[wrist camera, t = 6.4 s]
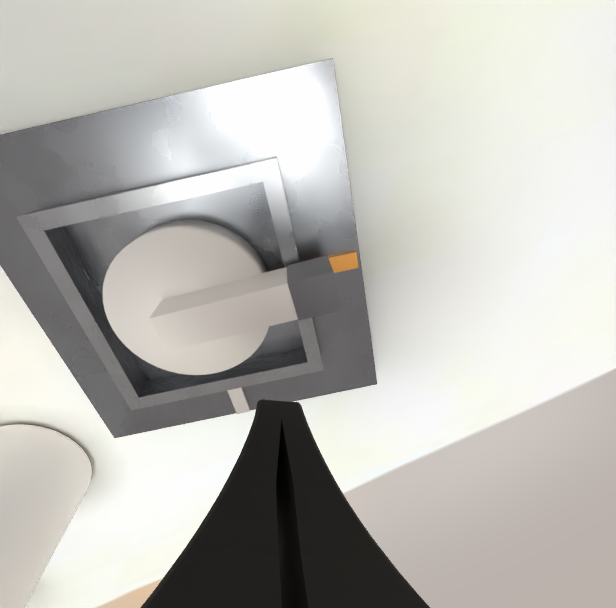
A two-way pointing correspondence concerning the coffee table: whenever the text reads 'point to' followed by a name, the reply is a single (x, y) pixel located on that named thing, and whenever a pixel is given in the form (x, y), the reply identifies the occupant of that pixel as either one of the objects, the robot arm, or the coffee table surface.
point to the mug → (35, 503)
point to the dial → (206, 296)
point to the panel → (197, 206)
